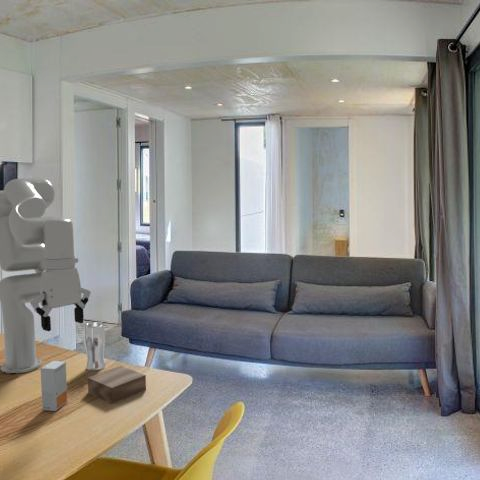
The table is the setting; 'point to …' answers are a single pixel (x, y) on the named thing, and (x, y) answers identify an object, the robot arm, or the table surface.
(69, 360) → the table surface
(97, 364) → the beer glass
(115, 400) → the walnut block
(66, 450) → the table surface
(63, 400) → the skincare box
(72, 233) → the robot arm
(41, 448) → the table surface
